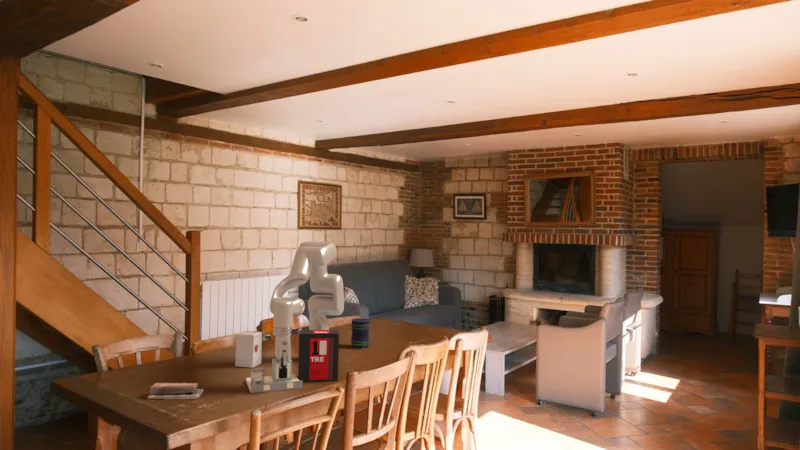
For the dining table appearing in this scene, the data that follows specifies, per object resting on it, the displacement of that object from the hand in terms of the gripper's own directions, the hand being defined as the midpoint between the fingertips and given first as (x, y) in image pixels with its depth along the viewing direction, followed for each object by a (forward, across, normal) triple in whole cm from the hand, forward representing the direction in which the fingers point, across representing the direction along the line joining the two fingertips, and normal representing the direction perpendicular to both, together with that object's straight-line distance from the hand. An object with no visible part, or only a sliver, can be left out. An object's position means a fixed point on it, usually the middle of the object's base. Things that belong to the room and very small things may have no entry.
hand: (281, 375), depth 215 cm
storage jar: (+5, +60, -52) cm, 80 cm away
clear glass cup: (+3, -1, +10) cm, 10 cm away
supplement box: (+5, +39, +8) cm, 40 cm away
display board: (+5, +4, +2) cm, 6 cm away
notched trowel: (+5, +1, +39) cm, 39 cm away
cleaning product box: (+5, +7, -17) cm, 19 cm away
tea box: (+2, 0, 0) cm, 2 cm away
